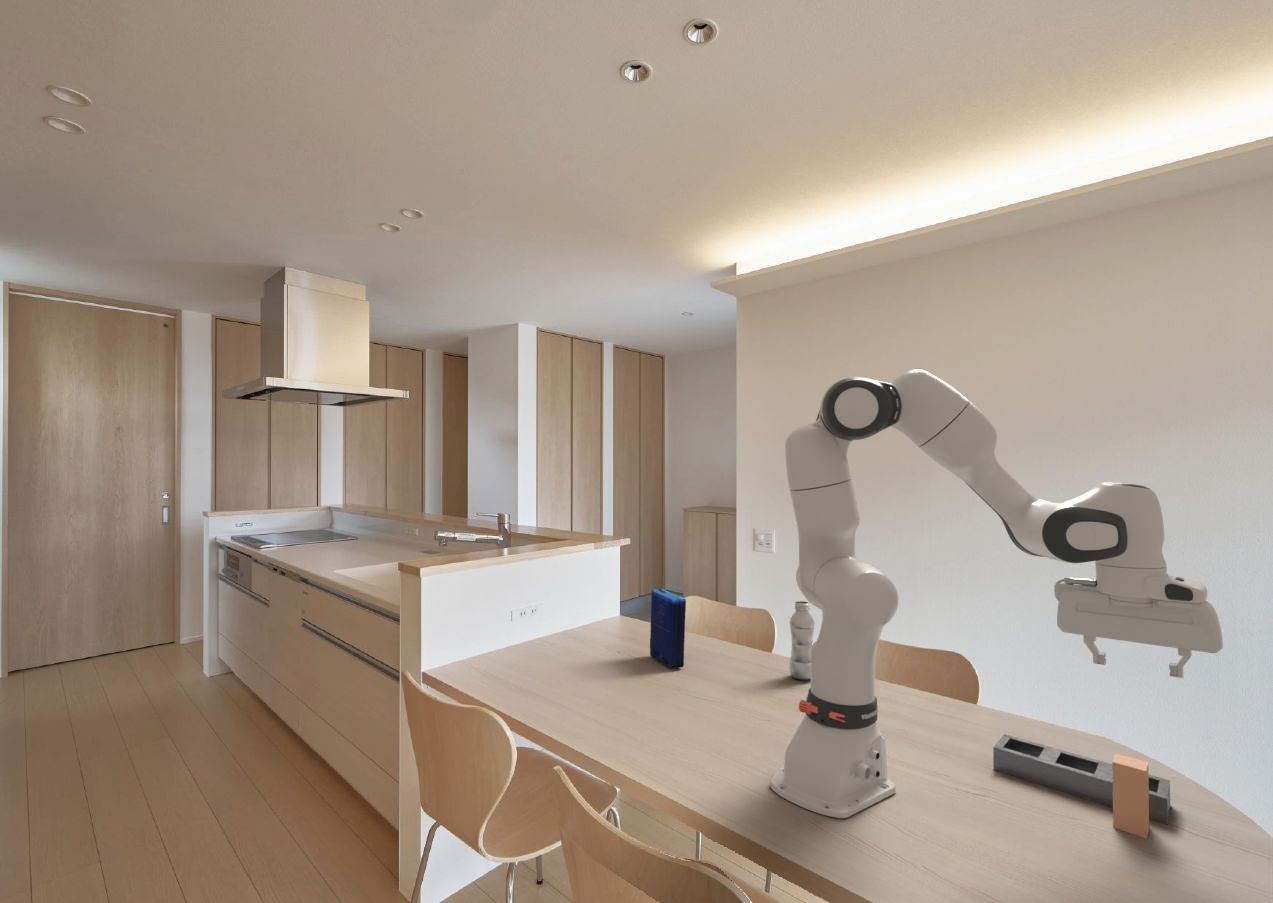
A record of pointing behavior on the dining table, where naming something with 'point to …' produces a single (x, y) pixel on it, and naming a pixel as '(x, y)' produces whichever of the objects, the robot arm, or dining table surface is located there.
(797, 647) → the plastic bottle
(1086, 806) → the dining table surface
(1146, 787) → the peg
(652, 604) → the blue upright rectangular block
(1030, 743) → the rail
